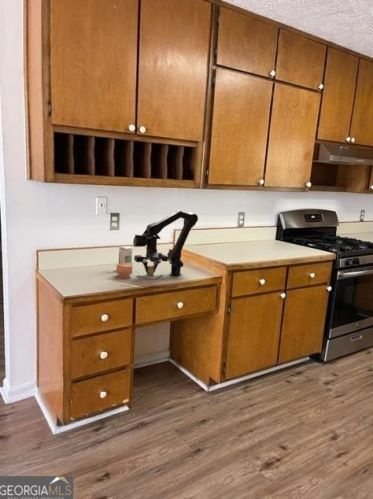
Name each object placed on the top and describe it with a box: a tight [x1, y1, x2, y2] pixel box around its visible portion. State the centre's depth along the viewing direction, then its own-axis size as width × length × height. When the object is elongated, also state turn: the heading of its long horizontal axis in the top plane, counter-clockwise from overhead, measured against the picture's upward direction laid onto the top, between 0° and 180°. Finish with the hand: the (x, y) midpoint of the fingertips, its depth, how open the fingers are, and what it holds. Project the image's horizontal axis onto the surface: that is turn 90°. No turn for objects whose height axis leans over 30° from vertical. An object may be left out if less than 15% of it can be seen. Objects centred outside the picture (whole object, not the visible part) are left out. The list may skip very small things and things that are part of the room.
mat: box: [134, 274, 165, 281], centre depth 219 cm, size 13×13×1 cm
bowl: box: [115, 263, 133, 279], centre depth 215 cm, size 9×9×7 cm
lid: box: [136, 265, 164, 281], centre depth 219 cm, size 11×11×6 cm
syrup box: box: [118, 245, 133, 265], centre depth 230 cm, size 6×6×14 cm
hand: (150, 272), depth 219 cm, fingers closed on lid, 4 cm apart
